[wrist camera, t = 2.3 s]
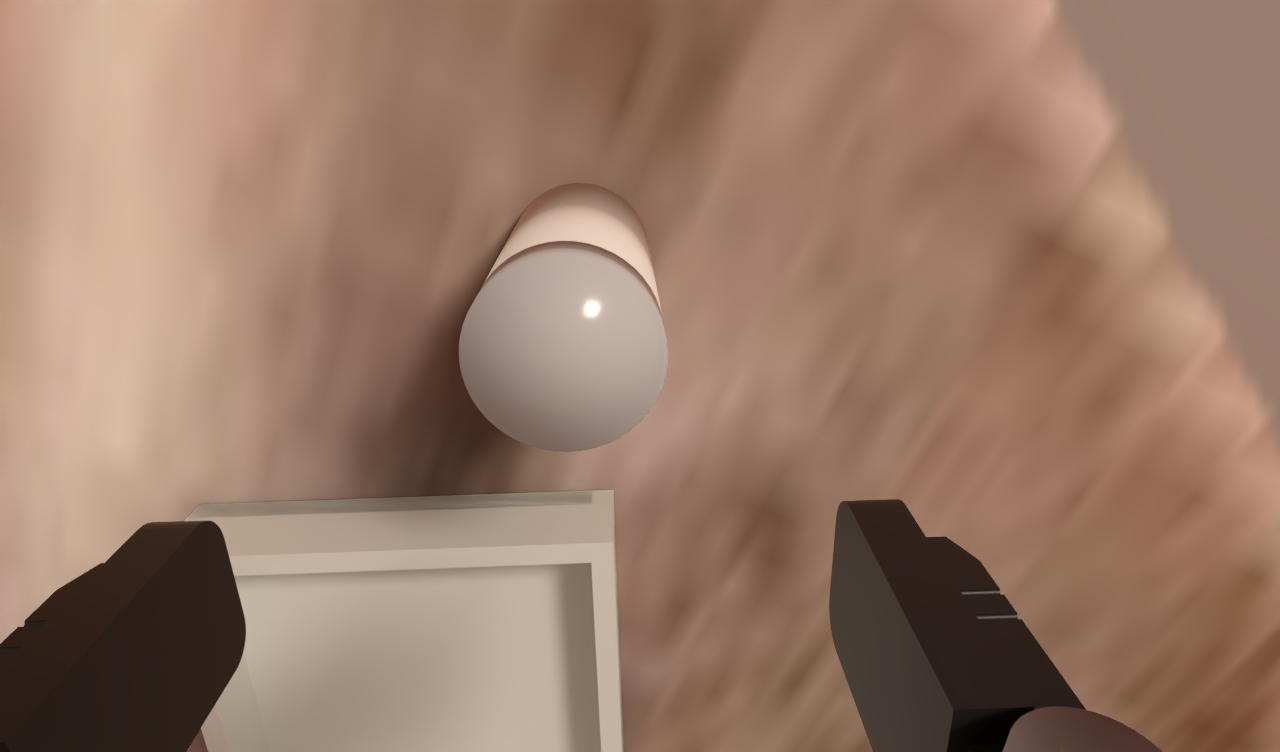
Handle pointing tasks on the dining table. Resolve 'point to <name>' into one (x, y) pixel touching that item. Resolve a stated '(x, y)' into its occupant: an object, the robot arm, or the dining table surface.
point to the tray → (423, 625)
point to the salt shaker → (568, 325)
